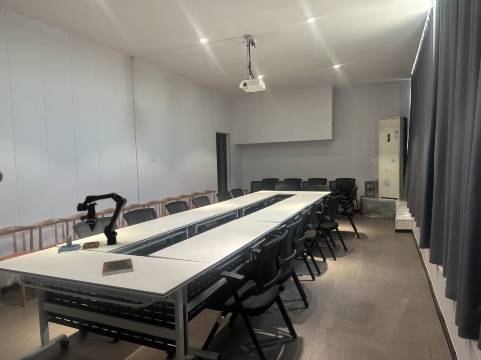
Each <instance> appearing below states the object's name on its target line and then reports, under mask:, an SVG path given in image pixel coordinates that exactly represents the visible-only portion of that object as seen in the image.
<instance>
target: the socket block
mask: <svg viewBox="0 0 481 360" xmlns="http://www.w3.org/2000/svg"><path fill="white" fill-rule="evenodd" d="M99 246H100V240H98V241H87V242H84V243H83V244H82V250H83V251H84V250H91V249H98V248H99Z"/></svg>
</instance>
